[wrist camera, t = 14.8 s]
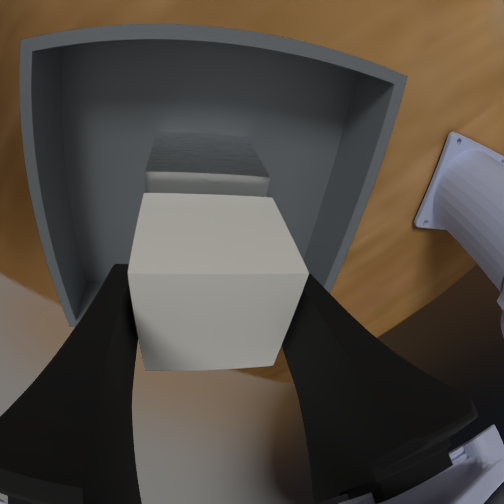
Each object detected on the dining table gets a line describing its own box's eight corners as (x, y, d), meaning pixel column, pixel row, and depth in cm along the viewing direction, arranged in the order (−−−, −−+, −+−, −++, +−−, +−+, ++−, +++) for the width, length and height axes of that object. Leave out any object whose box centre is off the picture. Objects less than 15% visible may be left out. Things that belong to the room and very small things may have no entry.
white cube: (272, 197, 11) (309, 273, 8) (252, 288, 14) (272, 365, 11) (143, 192, 10) (127, 273, 7) (149, 288, 13) (145, 370, 9)
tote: (364, 64, 14) (407, 76, 11) (298, 283, 23) (315, 323, 20) (58, 37, 10) (20, 40, 7) (81, 282, 19) (69, 326, 16)
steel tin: (247, 136, 15) (270, 177, 11) (234, 211, 18) (250, 270, 14) (157, 131, 14) (144, 171, 10) (155, 209, 16) (148, 269, 13)
